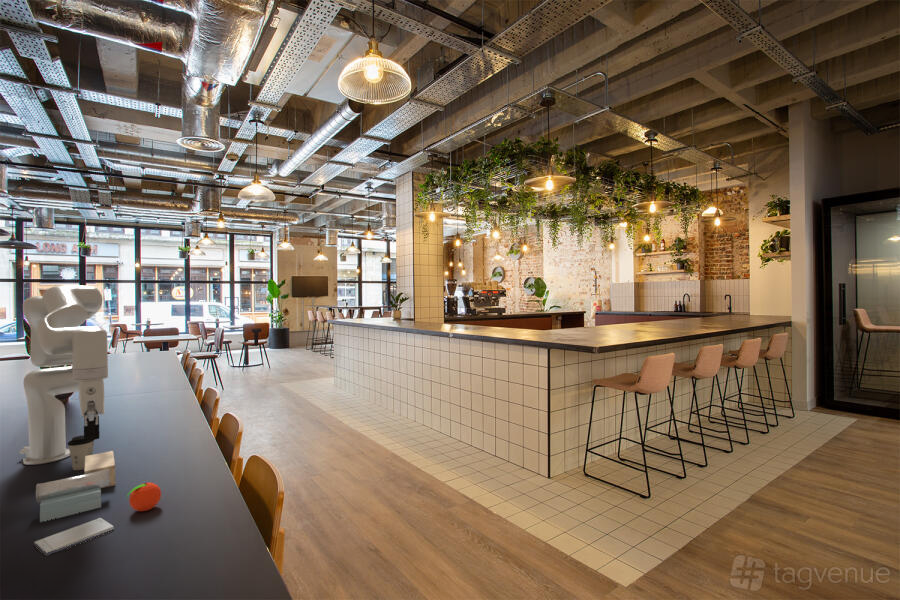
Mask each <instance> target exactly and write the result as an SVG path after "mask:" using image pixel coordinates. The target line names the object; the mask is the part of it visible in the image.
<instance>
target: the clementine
mask: <svg viewBox="0 0 900 600" xmlns="http://www.w3.org/2000/svg"><path fill="white" fill-rule="evenodd" d="M161 497H162V491H161V488H160V487H159V485H157V484H156V483H153V482H143V483H141V484H139V485H137V486H135V487H134V488H132V489H131V490H130V491H129V492H128V494H127V496H126V498H125V500H127V499H128V498H129V501H128V502H129V505H130V507H131V508H132V509H133V510H134V511H138V512H147V511H149V510H151V509H153V508H154V507H155V506H156V505H158V503H160V502H159V501H160V500H161Z"/></svg>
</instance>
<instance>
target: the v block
mask: <svg viewBox="0 0 900 600" xmlns="http://www.w3.org/2000/svg"><path fill="white" fill-rule="evenodd" d="M101 508H102V488H101V487H98V488H94V489H89V490H85V491H80V492H76V493H72V494H67V495H63V496H58V497H54V498H50V499H45V500H41V501H40V504H39V523H42V522H41V521H44V522H48V521H52V520H56V519H60V518H64V517H68V516H72V515H75V514H79V512H80V513H83V512H84V513H85V512H87V511H91V510H95V509H101ZM55 518H56V519H55ZM51 519H52V520H51ZM47 520H48V521H47Z"/></svg>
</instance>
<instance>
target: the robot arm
mask: <svg viewBox="0 0 900 600" xmlns="http://www.w3.org/2000/svg"><path fill="white" fill-rule="evenodd" d="M102 306H103V296H102V293H101V292H100V290H99V289H98V288H97V287H95V286H92V285H57V286H56V285H55V286H51V287H49V288H47V289H46V290H44V292H43V294H42V295H37V296H30V297H27V298H25V299H24V301H23V303H22V312H23V314H24V317H25V319H26V321H27V323H28V324H29V327H30V348H29V349H30V350H29V351H30V354H29V355H30V356H29V357H30V361H31V364H32V365H33V366H34V367H39V368H41V369H35V370H32V371H30V372H29V373H27V374H26V375H25V376H24V378H23V382H22V383H23V389H24V393H25V396H26V403H27V419H28V420H27V422H28V446H23V447H22V448H21V449H20V450H19V454H20V455H25V456H26V457H25V458H23V460H22V463H23V465H31V466H32V465H44V464H48V463H53V462H57V461H60V460H63V459H66V458H68V457H71V456H70V450H69V448H67V446H66V445H67V444H66V443H67V438H66V408H65V404H64V403H63V402H62V401H61V400H60V399H58V398H56V396H57V395H63V394H68V393H75V392H78V396H79V397H78V398H79V408H80V409H79V410H80V415H81V417H82V418H83V419H84V422H83V423H84V425H83V435H84V441H89V440H94V441H95V440H99V439H100V416H99V415H101V416H103V415H104V414H105V383H104V380H105V379H107V378H109V368H108V367H109V364H108V363H109V362H108V357H109V356H108V353H109V352H108V333H107V331H106V330H105V329H104V328H102V327H101V326H95V325H91V326H88V325H87V326H81V325H83V324H84V323H85V321H86V320H89V319H91V318H92V317H93V316H95V315H96V314H97V313H98V312H99V311H100V309H101V308H102ZM67 365H68V366H67ZM69 365H70V366H69ZM45 367H46V368H45ZM47 367H48V368H47ZM49 367H50V368H49Z"/></svg>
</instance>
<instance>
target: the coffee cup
mask: <svg viewBox="0 0 900 600" xmlns="http://www.w3.org/2000/svg"><path fill="white" fill-rule="evenodd" d="M94 442H95V440H89V441H84V434H83V435H77V436H74V437H72V438H71V440H69V441H68V442H67V446H68V449H69V450H70V456H69V457H70V460H71V465H72V470H73V471H79V470H85V456H88V455H93V452H94V445H95V444H94Z"/></svg>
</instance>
